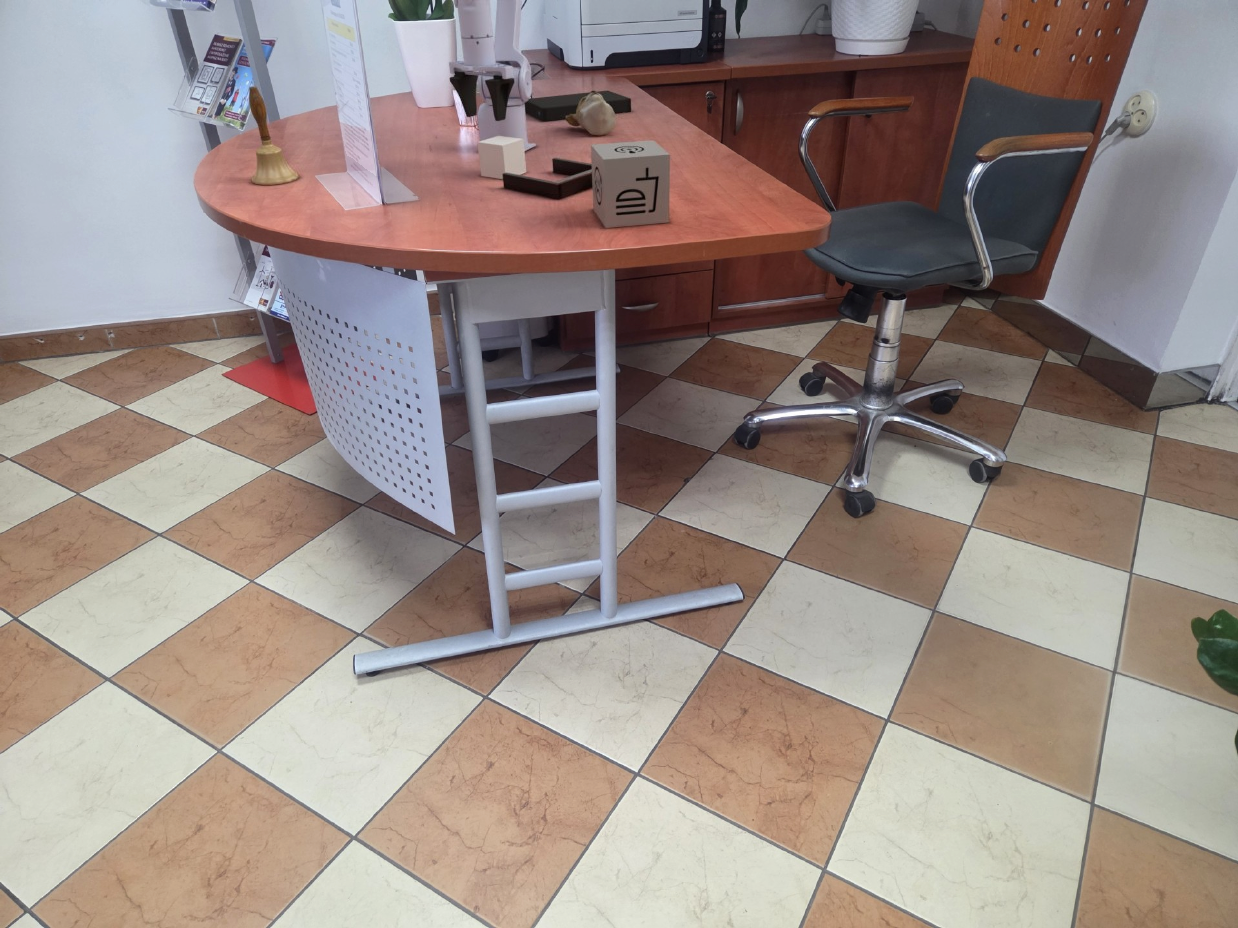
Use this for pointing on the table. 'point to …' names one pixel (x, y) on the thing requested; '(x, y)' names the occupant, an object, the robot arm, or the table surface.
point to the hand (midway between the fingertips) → (485, 118)
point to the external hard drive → (571, 105)
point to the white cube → (501, 156)
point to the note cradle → (558, 189)
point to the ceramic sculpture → (593, 115)
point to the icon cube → (630, 183)
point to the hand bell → (268, 148)
